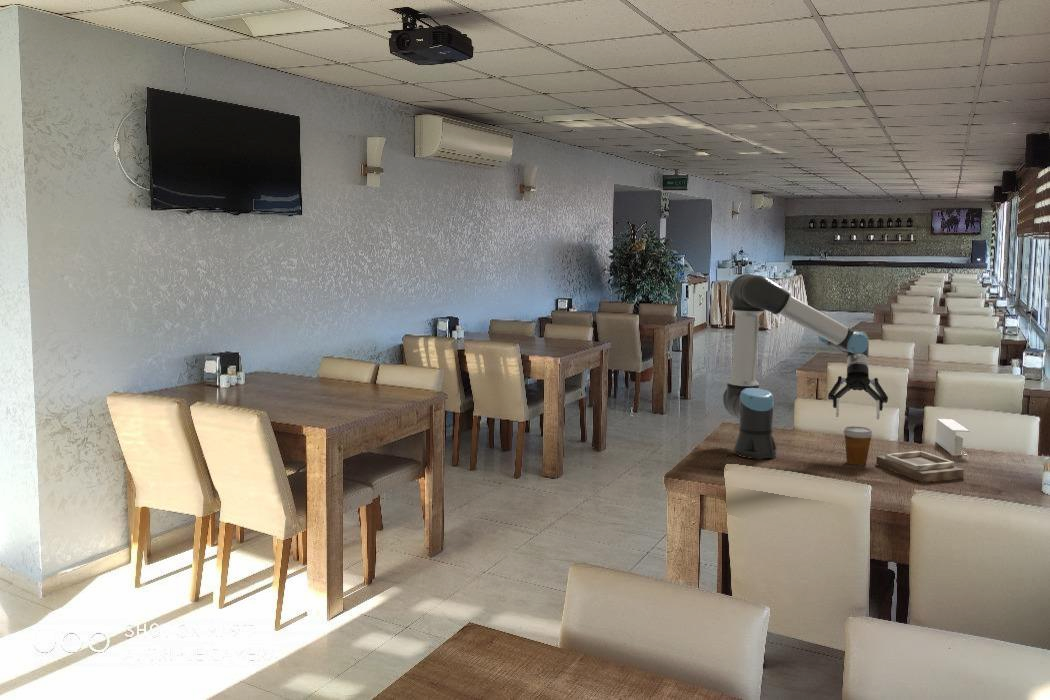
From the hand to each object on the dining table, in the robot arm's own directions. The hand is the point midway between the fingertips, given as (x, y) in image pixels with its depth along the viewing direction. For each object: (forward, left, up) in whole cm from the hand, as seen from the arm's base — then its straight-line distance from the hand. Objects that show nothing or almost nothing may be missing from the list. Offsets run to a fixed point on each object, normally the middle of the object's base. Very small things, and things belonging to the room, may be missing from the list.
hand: (857, 416), depth 296 cm
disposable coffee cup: (-6, -8, -15) cm, 18 cm away
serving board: (+7, -23, -14) cm, 28 cm away
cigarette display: (+40, -2, -15) cm, 42 cm away
